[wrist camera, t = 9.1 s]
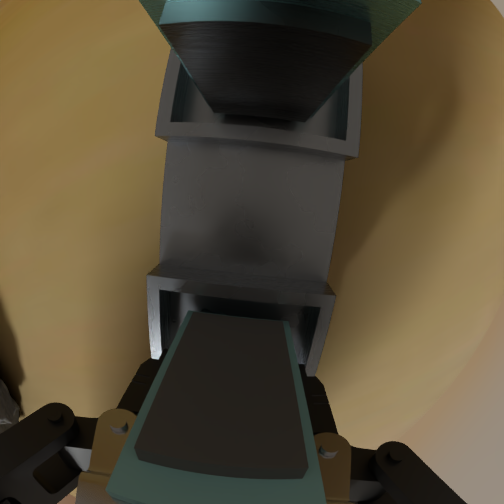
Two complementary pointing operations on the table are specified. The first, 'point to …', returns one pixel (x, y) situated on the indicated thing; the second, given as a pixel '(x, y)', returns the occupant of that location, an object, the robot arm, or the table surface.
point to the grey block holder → (258, 156)
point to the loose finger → (223, 421)
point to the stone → (7, 409)
